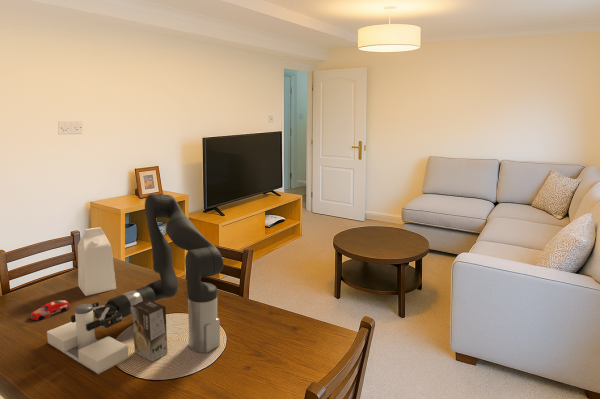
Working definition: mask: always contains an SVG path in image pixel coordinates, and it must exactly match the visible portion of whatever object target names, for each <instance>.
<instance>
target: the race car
mask: <svg viewBox="0 0 600 399" xmlns="http://www.w3.org/2000/svg"><path fill="white" fill-rule="evenodd" d="M70 308H71V305H70V303H69V301H67V300H65V299H64V300H54V301H51V302H48V303H45V304H44V305H42V306H41V307H40V308H38V309H35V310H33V311H31V313H30V319H31V320H32V321H42V320H44V319H47V318H49V317H52V316H56V315H58V314H59V315H60V314H61V313H65V312H67V311H68V310H70Z"/></svg>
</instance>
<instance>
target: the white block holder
mask: <svg viewBox="0 0 600 399" xmlns="http://www.w3.org/2000/svg"><path fill="white" fill-rule="evenodd" d="M46 336H47V337H46V338H47V343H48V344H49V345H51V346H52V347H54V348H55V349H56V350H58V351H61V352H62V353H63V354H65V355H67V356H68V357H69V358H71V359H73V360H74V361H76V362H77V363H79V364H81V365H82V366H84V367H86V368H88V370H91V371H93V372H94V373H96V374H97V375H100V374H102V373H104V372H105V371H107V370H109V369H111V368H113V367H114V366H116V365H119V364H120V363H122V362H125V361H126V360H127V359H129V346H128V345H127V344H125V343H123V342H121V341H118V340H117V339H116V338H113V337H111V336H109V335H108V336H106V337H104V338H100V339H97V338H96V337H95V341H96V342H94V343H92V344H90V345H88V346H86V347H84V348H81V349H79V350H78V341H77V330H76V322H74V323H73V322H71V321H70V322H67V323H65V324H63V325H60V326H57V327H55V328H52V329H49V330H47V331H46Z"/></svg>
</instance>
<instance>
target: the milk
mask: <svg viewBox="0 0 600 399" xmlns="http://www.w3.org/2000/svg"><path fill="white" fill-rule="evenodd" d="M114 264H115V263H114V257H113V249H112V245H111V243H110V241H109V239H108V238H107V236H106V234H105V232H104V230H103V229H102V227H101V226H100V227H93V228H85V229H84V232H83V234H82V237H81V238H80V240H79V242H78V244H77V271H78V272H77V273H78V275H77V277H78V282H77V283H78V288H79V289H80V290H81V292H82V293H83V294H84V296H85V297H87V296H92V295H95V294H99V293H103V292H107V291H108V292H109V291H112V290H117V283H116V282H117V281H116V274H115V265H114Z"/></svg>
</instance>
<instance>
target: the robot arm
mask: <svg viewBox="0 0 600 399" xmlns="http://www.w3.org/2000/svg"><path fill="white" fill-rule="evenodd" d="M144 213H145V220H146V225H147V229H148V235H149V239H150V244H151V253H152V267H153V271H154V273H156V274H158V275H159V277H160V279H157V280H154V281H153V282H151V283H148V284H147V285H145V286H142V287H140V288H136V289H134V290H130V291H127V292H125V293H122V294H120V295H119V294H118V295H117V296H113V297H111V298H109V299H108V300H107V302H106V303H105V304H102V305H100V303H99V302H98V301H97V302H94V303H90V304H91V305H92V306H93V317H94V319H95V320H94V321H93V322H90V323H88V324H86V330H87V331H90V330H93V329H97V328H103V327H104V328H105V329H108V328H110V327H112V326H114V325H116V324H118V323H120V322H122V321H123V318H125V317H128V316H130V315H131V316H132V306H133V305H136V304H137V303H139V302H142V301H144V300H147V299H149V300H151V301H153V302H157V301H158V300H162V299H163V300H164V299H169V298H170V299H171V298H173V297H174V296H176V294H177V293H178V290H179V281H178V278H177V275H176V272H175V269H174V265H173V262H174V261H173V252H172V251H173V250H172V247H171V245H170V243H169V241H168V239H166V237H165V236H164V234H163V233H162V231H161V229H160V227H159V224H158V220H157V219H168V221H167V224H166V228H165V229H166V230H165V231H166V234H167V236H168V237H169V239H170V240H171V241H172V242H173V244H174V245H175V246H176V247H178V248H180V249H182V250H185V251H187V252H186V254H185V258H184V260H185V261H184V262H185V263H184V264H185V274H186V275H185V276H186V288H187V302H188V303H187V304H188V305H187V306H188V307H187V309H188V316H187V317H188V347H189V349H190V350H191V351H194V352H195V353H196V352H197V353H205V354H208V353H209V352H211V351H213V350H215V349H216V348H218V347H219V346H221V319H220V318H218V288H217V286H216V285H214V284H213V283H210V282H203V281H202V278H208V277H209V278H210V277H213V276H216V275H219V274H220V273H222V271H223V269H224V266H225V265H224V258H223V256H222V254H221V252H220V251H219V249H218V248H217V247H216V245H214V244H213V243H212V242H211V241H209V239H207V238H206V237H205V236H204V235H203V234H202V233H201V232H200V231H199V230H198V228H197V227H196V225H195V224H194V223H193V222H192V221H191V219H189V217H187V215H186V214H185V213H184V211H183V210H182V208H181V206H180V204H179V203H178V201H177V200H176V198H175V197H174V196H173V195H170V194H159V193H158V194H157V193H155V194H148V195H147V196H146V198H145V200H144ZM70 322H73V323H74V322H76V319H75V314H73V315H71V316H70Z"/></svg>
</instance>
